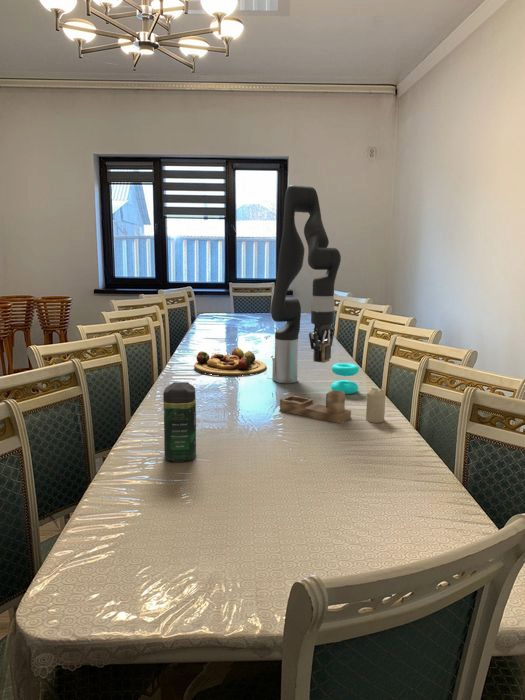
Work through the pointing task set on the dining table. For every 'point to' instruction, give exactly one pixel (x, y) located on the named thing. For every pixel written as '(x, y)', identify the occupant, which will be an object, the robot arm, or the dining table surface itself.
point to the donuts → (345, 370)
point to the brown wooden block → (324, 353)
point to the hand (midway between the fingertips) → (321, 360)
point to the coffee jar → (179, 421)
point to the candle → (375, 405)
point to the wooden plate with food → (229, 363)
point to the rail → (318, 407)
